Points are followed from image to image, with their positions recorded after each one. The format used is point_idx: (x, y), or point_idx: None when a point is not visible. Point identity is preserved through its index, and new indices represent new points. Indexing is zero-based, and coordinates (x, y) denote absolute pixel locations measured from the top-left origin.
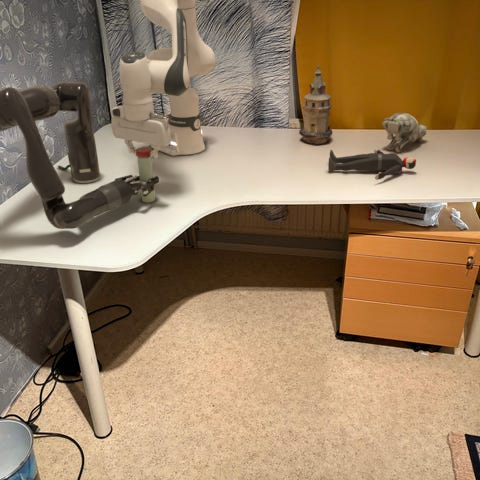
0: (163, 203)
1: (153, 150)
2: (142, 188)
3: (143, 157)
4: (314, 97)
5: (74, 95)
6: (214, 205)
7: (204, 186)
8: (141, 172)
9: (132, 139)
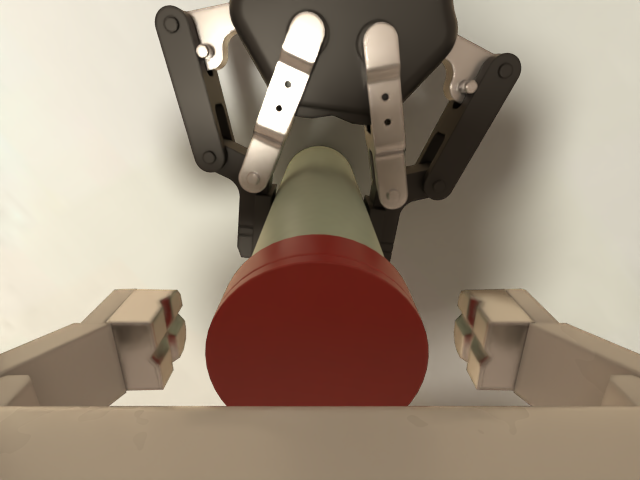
0: (223, 181)
1: (53, 347)
2: (181, 13)
3: None
4: None
5: None
6: (10, 274)
7: (190, 399)
8: (315, 187)
9: (508, 429)
